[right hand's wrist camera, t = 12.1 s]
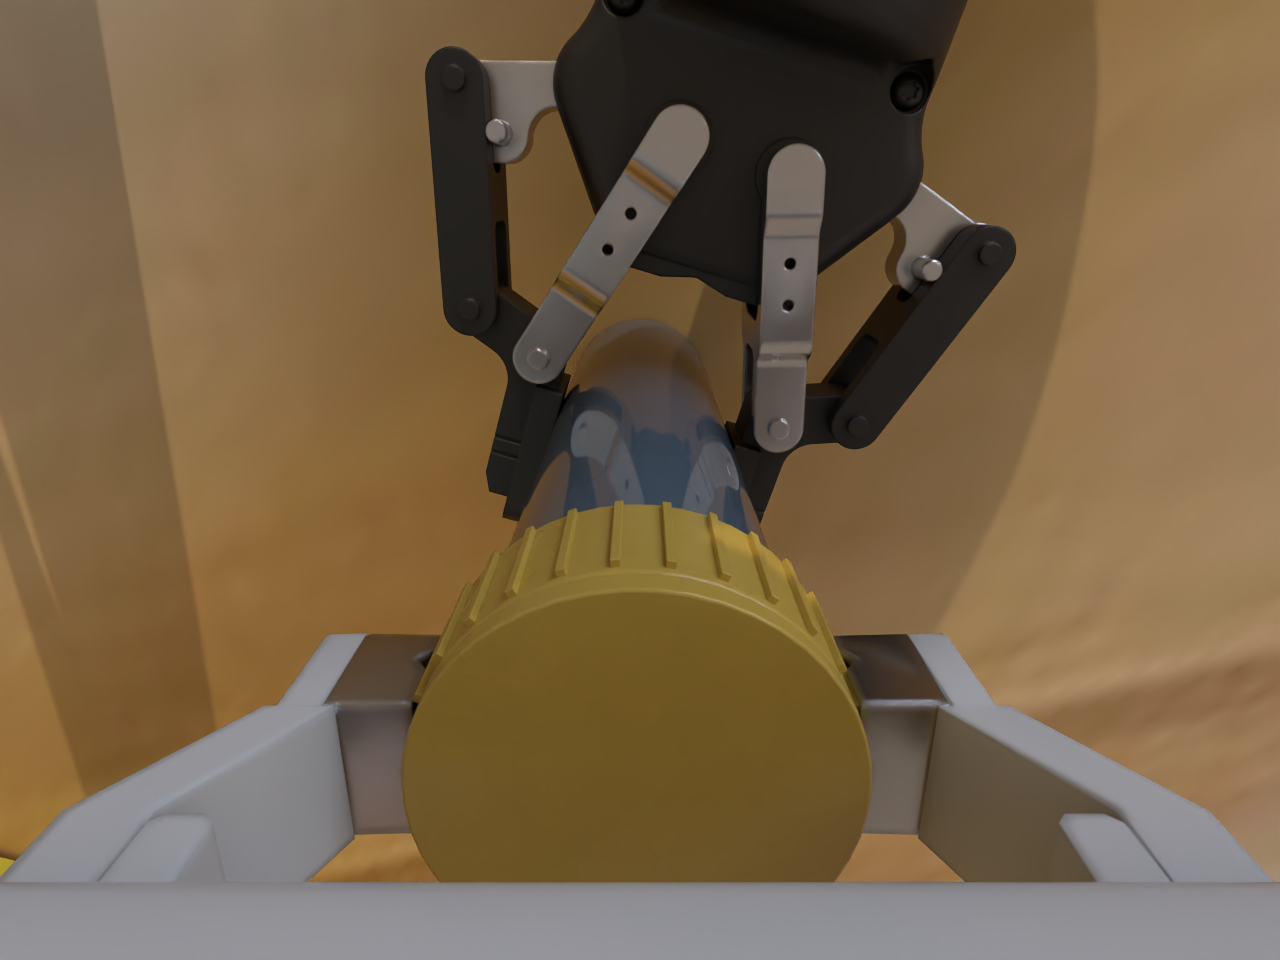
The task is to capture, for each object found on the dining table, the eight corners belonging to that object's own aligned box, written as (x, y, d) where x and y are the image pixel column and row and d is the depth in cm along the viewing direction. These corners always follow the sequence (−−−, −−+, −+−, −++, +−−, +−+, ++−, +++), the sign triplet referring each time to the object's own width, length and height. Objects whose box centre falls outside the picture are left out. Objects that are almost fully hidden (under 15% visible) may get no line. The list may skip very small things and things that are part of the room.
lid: (386, 744, 11) (324, 877, 9) (542, 425, 9) (515, 494, 7) (711, 875, 12) (727, 1027, 10) (907, 602, 10) (978, 712, 8)
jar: (547, 382, 26) (359, 761, 9) (643, 290, 25) (645, 512, 8) (637, 472, 27) (629, 970, 10) (732, 387, 26) (914, 775, 9)
